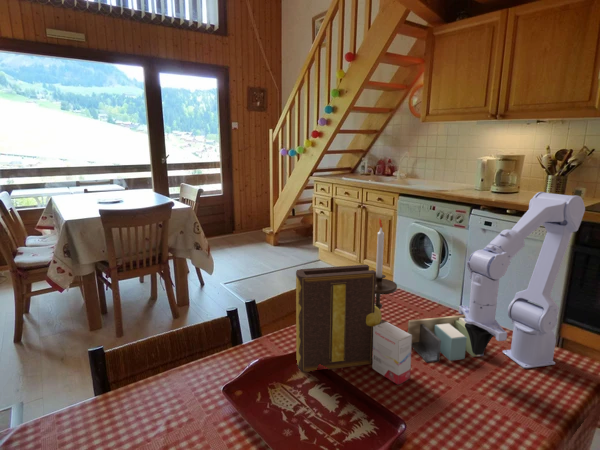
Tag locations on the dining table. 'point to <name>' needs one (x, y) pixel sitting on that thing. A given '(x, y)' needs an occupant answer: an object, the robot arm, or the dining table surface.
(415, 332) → the shelf wall
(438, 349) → the bookend
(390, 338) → the ink box
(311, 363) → the book
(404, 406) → the dining table surface
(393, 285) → the candlestick
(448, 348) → the boxed book
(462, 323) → the book row
